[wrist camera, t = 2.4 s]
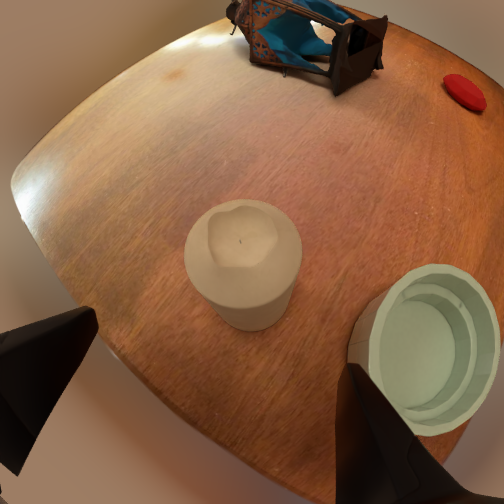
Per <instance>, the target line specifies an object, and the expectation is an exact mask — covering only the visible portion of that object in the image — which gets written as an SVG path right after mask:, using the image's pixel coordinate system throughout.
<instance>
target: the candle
mask: <svg viewBox="0 0 504 504" xmlns="http://www.w3.org/2000/svg"><path fill="white" fill-rule="evenodd" d="M301 260H302V243H301V239H300V235H299V233H298V231H297V229H296V227H295V225H294V224H293V222H292V221H291V220H290V218H289V217H288V216H287V215H286V214H285V213H283V212H282V211H281V210H279V209H278V208H276V207H274V206H273V205H270V204H268V203H265V202H262V201H258V200H251V199H239V200H232V201H228V202H225V203H222V204H220V205H217V206H215V207H214V208H212V209H210V210H209V211H207V212H206V213H205V214H204V215H203V216H201V217H200V218H199V220H198V221H197V222H196V223H195V224H194V226H193V227H192V229H191V231H190V233H189V235H188V237H187V240H186V244H185V249H184V263H185V267H186V271H187V274H188V276H189V278H190V280H191V282H192V283H193V285H194V286H195V288H196V289H197V290H198V291H199V292H200V294H201V295H202V296H203V297H204V298H205V299H206V301H207V302H208V303H209V304H210V305H211V306H212V307H213V309H214V310H215V311H216V312H217V313H218V314H219V315H220V316H221V318H223V319H224V320H225V321H226V322H227V323H228V324H229V325H231V326H232V327H234V328H237V329H239V330H243V331H260V330H263V329H266V328H268V327H270V326H272V325H273V324H275V323H276V322H277V321H278V320H279V319H280V318H281V317H282V315H283V314H284V312H285V310H286V308H287V306H288V303H289V300H290V297H291V294H292V291H293V288H294V285H295V282H296V278H297V275H298V272H299V269H300V265H301Z"/></svg>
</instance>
